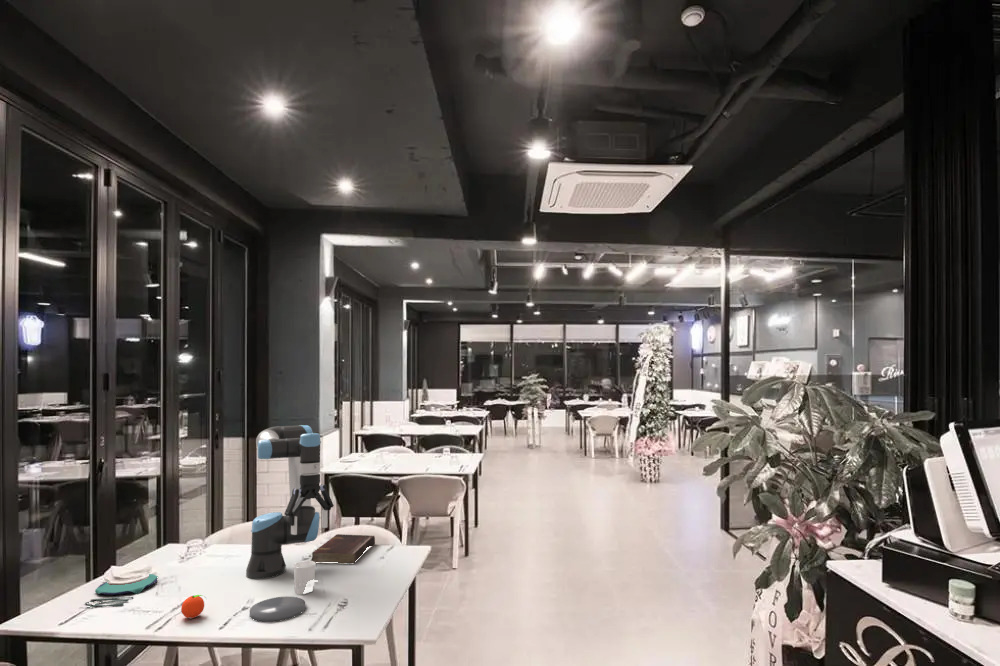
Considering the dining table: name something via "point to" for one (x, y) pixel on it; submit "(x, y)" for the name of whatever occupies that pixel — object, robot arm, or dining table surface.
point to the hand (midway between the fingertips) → (309, 530)
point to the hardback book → (343, 548)
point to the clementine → (192, 606)
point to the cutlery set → (122, 590)
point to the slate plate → (277, 609)
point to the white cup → (303, 575)
